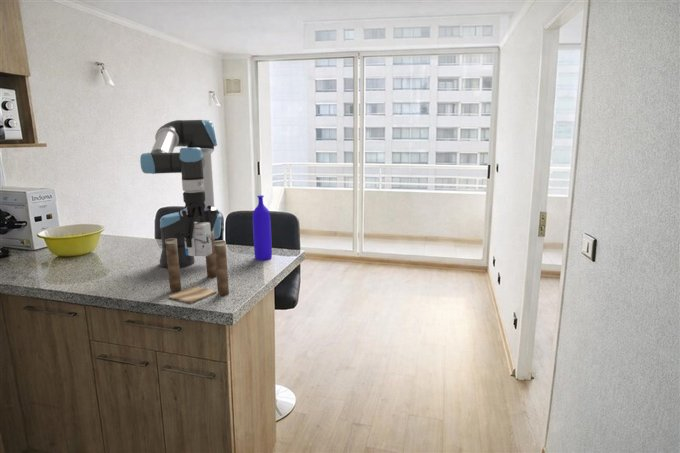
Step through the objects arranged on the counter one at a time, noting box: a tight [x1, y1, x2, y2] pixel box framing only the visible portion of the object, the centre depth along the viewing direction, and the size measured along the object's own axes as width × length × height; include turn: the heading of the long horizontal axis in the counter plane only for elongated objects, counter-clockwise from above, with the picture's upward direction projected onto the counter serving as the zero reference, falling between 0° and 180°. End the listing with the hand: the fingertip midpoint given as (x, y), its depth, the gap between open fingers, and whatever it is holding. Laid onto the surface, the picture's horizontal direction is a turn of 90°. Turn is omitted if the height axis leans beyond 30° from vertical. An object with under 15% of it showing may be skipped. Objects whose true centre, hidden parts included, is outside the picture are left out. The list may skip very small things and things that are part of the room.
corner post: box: [214, 239, 230, 297], centre depth 162 cm, size 4×4×20 cm
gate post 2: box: [205, 229, 217, 279], centre depth 183 cm, size 4×4×20 cm
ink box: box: [184, 222, 212, 257], centre depth 163 cm, size 9×5×12 cm, turn 78°
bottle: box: [252, 194, 273, 261], centre depth 208 cm, size 8×8×30 cm
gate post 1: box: [165, 238, 182, 293], centre depth 167 cm, size 4×4×20 cm
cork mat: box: [167, 285, 217, 304], centre depth 163 cm, size 12×12×1 cm
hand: (198, 253), depth 164 cm, fingers closed on ink box, 6 cm apart
